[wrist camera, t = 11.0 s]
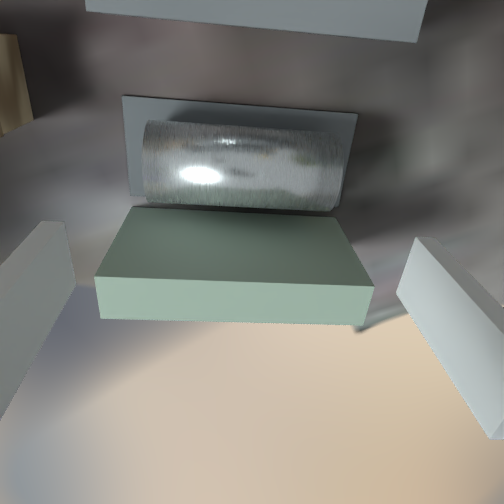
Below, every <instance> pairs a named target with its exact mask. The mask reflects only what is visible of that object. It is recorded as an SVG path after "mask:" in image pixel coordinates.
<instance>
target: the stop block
mask: <svg viewBox="0 0 504 504" xmlns="http://www.w3.org/2000/svg"><path fill="white" fill-rule="evenodd" d="M94 278H95V285H96V291H97V298H98V304H99V311H100V317H101V319H137V320H138V319H139V320H174V321H175V320H176V321H177V320H178V321H213V322H251V323H252V322H254V323H290V324H291V323H293V324H328V325H329V324H330V325H331V324H332V325H363V324H364V320H365V317H366V314H367V310H368V307H369V304H370V300H371V297H372V294H373V290H374V287H375V286H374V284H373V283H372V281H371V279H370V277H369V276H368V274H367V272H366V271H365V269H364V267H363V265H362V264H361V262H360V260H359V258H358V257H357V255H356V253H355V251H354V250H353V248H352V246H351V244H350V243H349V241H348V239H347V237H346V236H345V234H344V232H343V230H342V229H341V227H340V225H339V223H338V222H337V220H336V218H335V217H317V216H297V215H278V214H259V213H240V212H221V211H202V210H182V209H163V208H144V207H132V208H131V209H130V211H129V213H128V215H127V217H126V219H125V220H124V222H123V224H122V226H121V228H120V230H119V232H118V233H117V235H116V237H115V239H114V241H113V243H112V245H111V246H110V248H109V250H108V252H107V254H106V256H105V258H104V259H103V261H102V263H101V265H100V267H99V269H98V271H97V272H96V274H95V276H94Z"/></svg>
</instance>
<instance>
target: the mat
mask: <svg viewBox="0 0 504 504" xmlns="http://www.w3.org/2000/svg"><path fill="white" fill-rule="evenodd" d="M122 105H123V117H124V129H125V140H126V152H127V164H128V175H129V187H130V196H145V192H144V186H143V176H142V145H143V135H144V130H145V126H146V123H147V121H148V120H162V121H176V122H190V123H204V124H218V125H232V126H246V127H260V128H274V129H288V130H302V131H316V132H330V133H338V134H339V136H340V138H341V141H342V145H343V175H342V182H341V187H340V191H339V195H338V198H337V201H336V203H335V205H334V207H338V206H339V201H340V196H341V192H342V187H343V182H344V178H345V173H346V168H347V164H348V159H349V154H350V150H351V145H352V140H353V136H354V131H355V126H356V122H357V117H358V114H355V113H342V112H329V111H316V110H303V109H290V108H277V107H265V106H252V105H239V104H226V103H213V102H200V101H187V100H175V99H162V98H149V97H136V96H123V95H122ZM145 197H146V196H145Z"/></svg>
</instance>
